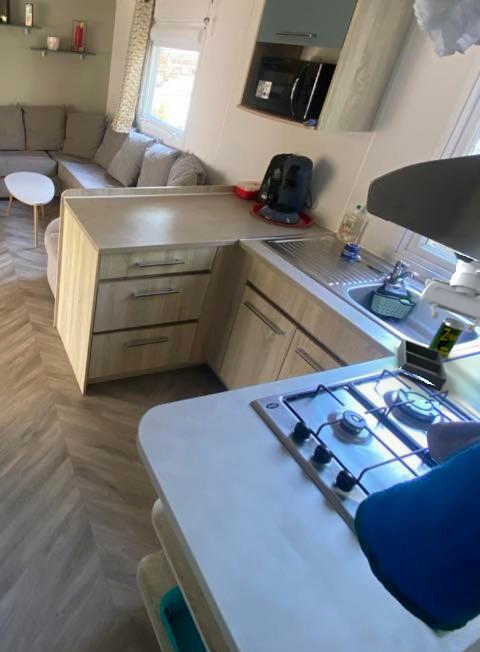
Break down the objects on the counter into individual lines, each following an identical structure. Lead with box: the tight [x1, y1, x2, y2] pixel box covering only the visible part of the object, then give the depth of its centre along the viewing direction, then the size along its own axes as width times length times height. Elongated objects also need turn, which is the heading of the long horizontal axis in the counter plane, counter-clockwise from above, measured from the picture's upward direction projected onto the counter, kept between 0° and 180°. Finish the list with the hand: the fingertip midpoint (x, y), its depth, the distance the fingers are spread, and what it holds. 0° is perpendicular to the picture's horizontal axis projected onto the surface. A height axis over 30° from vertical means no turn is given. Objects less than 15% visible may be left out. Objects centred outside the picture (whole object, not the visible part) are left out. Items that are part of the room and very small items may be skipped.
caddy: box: [397, 338, 447, 392], centre depth 125 cm, size 10×17×4 cm, turn 145°
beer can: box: [427, 317, 465, 359], centre depth 133 cm, size 5×5×12 cm
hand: (451, 324), depth 135 cm, fingers open, 8 cm apart
